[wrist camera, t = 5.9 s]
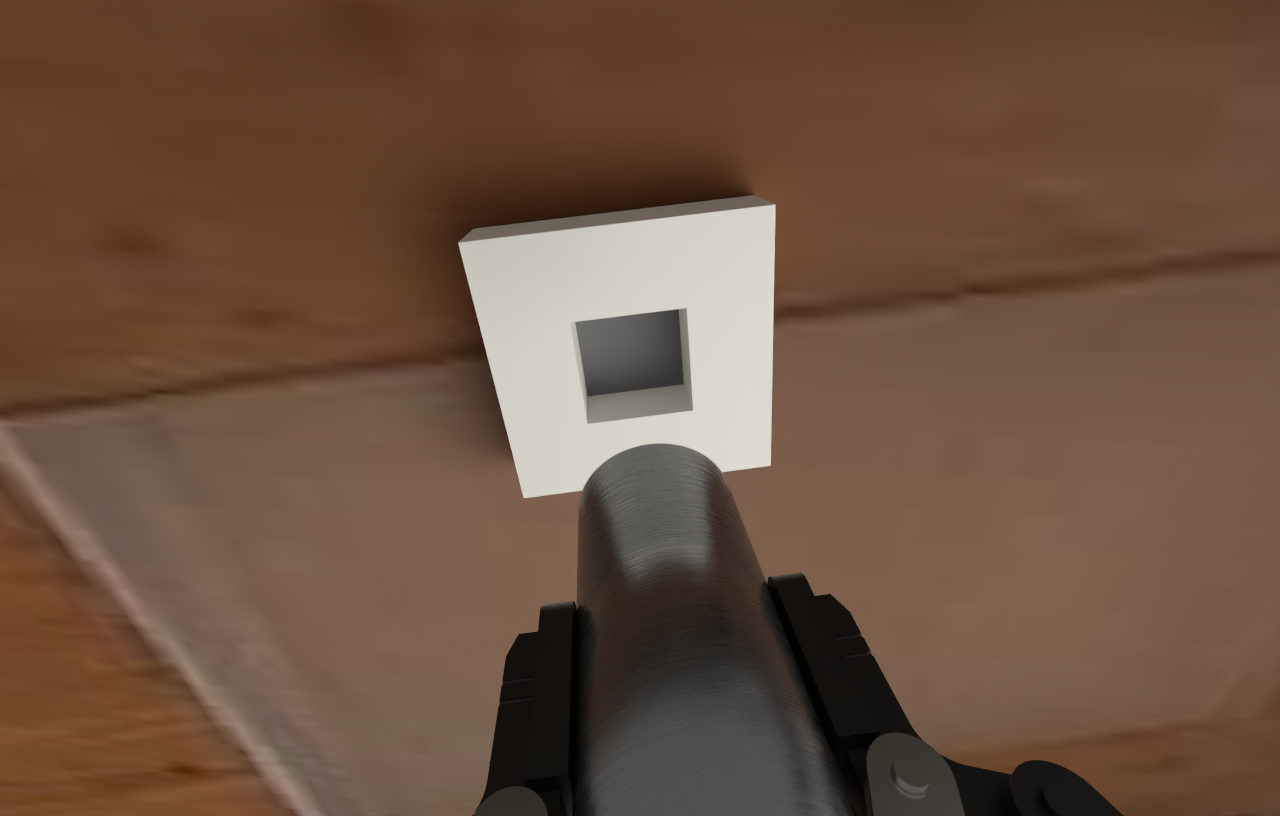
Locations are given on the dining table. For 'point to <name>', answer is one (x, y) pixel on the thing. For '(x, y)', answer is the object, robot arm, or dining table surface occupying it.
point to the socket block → (629, 335)
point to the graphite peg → (686, 656)
